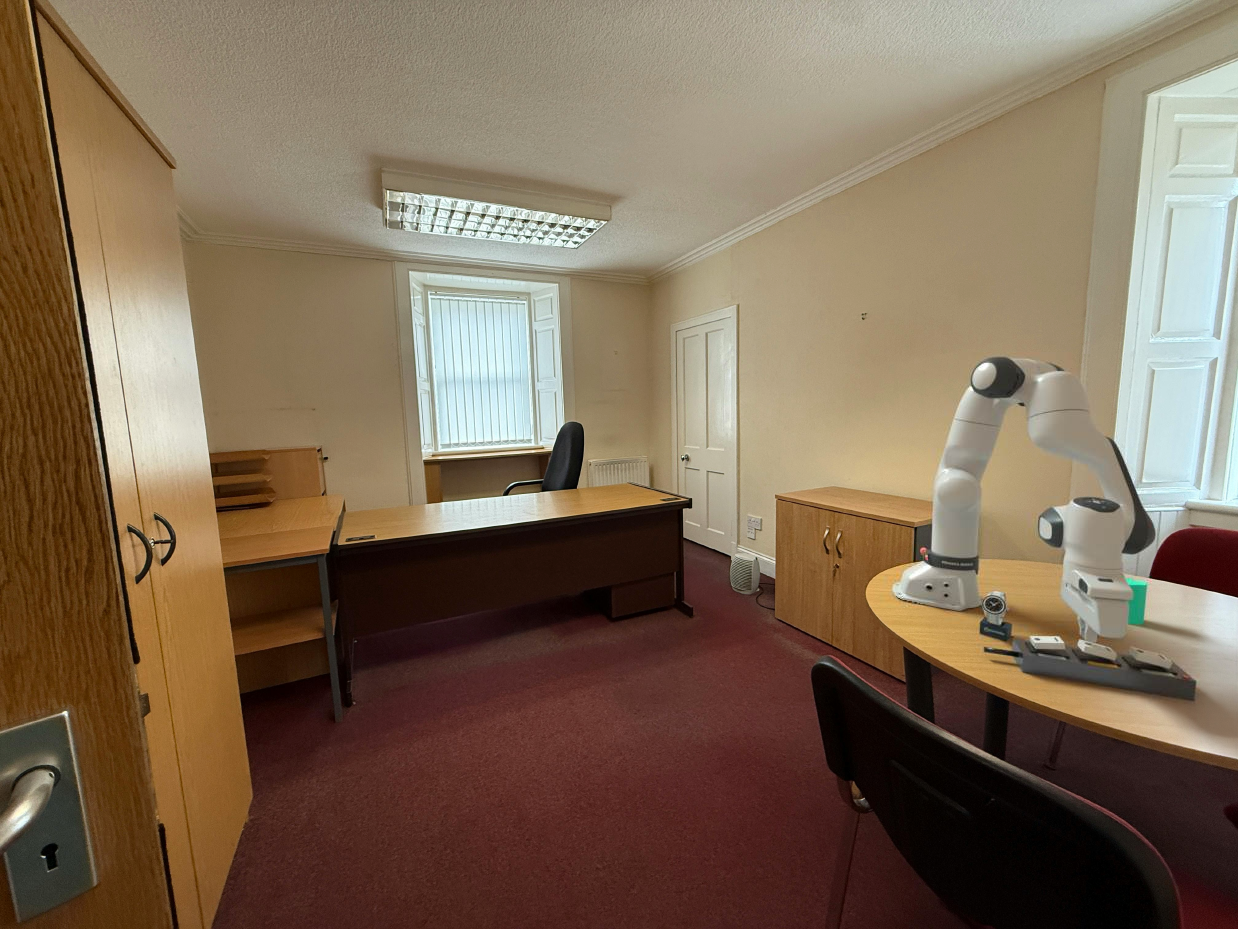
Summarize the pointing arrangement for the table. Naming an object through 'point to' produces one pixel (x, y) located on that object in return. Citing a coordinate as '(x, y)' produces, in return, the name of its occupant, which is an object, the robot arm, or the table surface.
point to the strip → (1101, 669)
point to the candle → (1137, 601)
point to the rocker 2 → (1097, 649)
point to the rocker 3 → (1150, 657)
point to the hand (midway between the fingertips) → (1087, 639)
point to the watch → (995, 617)
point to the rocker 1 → (1047, 642)
